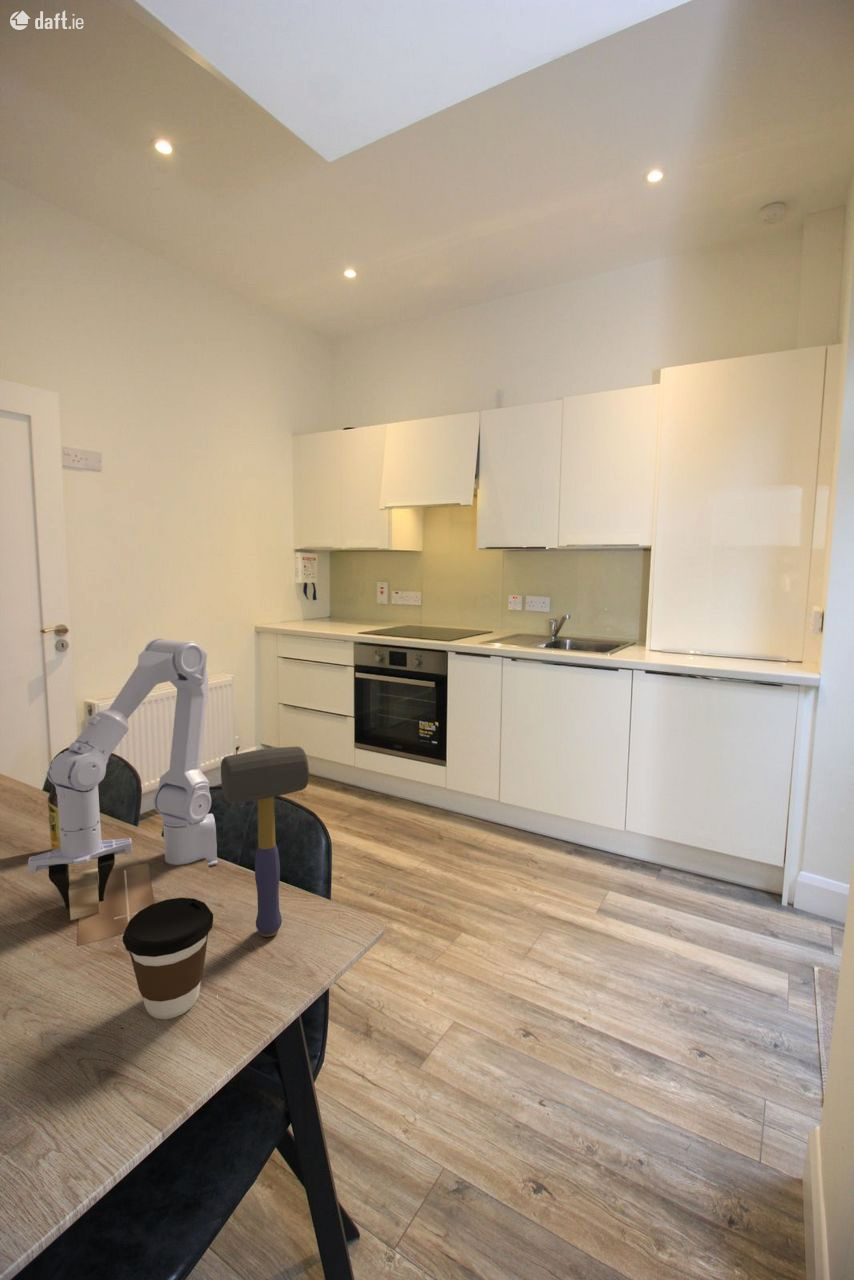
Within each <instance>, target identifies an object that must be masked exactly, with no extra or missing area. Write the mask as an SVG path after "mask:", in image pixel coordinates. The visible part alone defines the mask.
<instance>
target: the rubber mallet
mask: <svg viewBox="0 0 854 1280" xmlns="http://www.w3.org/2000/svg"><path fill="white" fill-rule="evenodd" d="M309 769H310V768H309V762H308V757H307V754H306V752H305V750H304V749H303V748H302V747H301V746H286V747H285V746H284V747H272V748H263V749H256V750H251V751H246V752H240V753H236V754H231V755H226V756H225V757H224V758H222V760H221V763H220V781H221V782H220V783H221V789H222V794H223V797H224V800H225V801H226V802H227V803H231V804H232V803H241V802H249V801H257V838H258V840H257V842H258V843H257V844H258V845H257V848H256V850H255V851H256V853H255V861H254V877H255V884H256V885H255V886H256V892H257V895H256V896H257V915H256V918H255V927H256V929H257V931H258V933H259V935H260V936H262V937H266V938H269V937H272V936H275V935H277V934H278V932H279V930H280V928H281V926H282V923H283V921H282V920H283V917H282V914H281V911H280V895H279V894H280V892H279V891H280V890H279V888H280V878H281V867H280V866H281V864H280V863H281V862H280V855H279V848H278V846H277V844H276V825H275V822H276V821H275V819H276V818H275V797H279V796H284V795H288V794H292V793H296V792H299V791H303V790H305V789H306V787H308V784H309V778H310V770H309Z"/></svg>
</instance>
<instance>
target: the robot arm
mask: <svg viewBox="0 0 854 1280" xmlns="http://www.w3.org/2000/svg"><path fill="white" fill-rule="evenodd" d="M207 659H208V653H207V652H206V651H205V650H204V649H203V647H202V646H201V645H199V644H198V643H197V642H195V641H184V640H183V641H180V640H169V639H164V638H155V639H152V640H151V641H149V642H148V643H147V644H146V645H145V647H144V650H142V651H141V652H140V653H139V654H138V658H137V660H138V661H137V666H136V667H135V668H134V670H133V672H132V673H131V675H130V676H129V678H128V679H127V681H126V683H125V684H124V686H123V687H121V689H120V691H119V693H118V694H117V696H116V697H115V699H114V700H113V702H112V703H111V705H110V706H109V708H107V709H105V710H100V711H98V712H96V713H95V714H94V715H91V716H90V717H89V718H88V719H87V721H86V722H87V725H86V726H85V728H84V729H83V730H82V732H80V734H79V735H78V736H77V738H76V739H75V741H74V742H72V743H71V744H70V745H69V746H68V750H65V751H63V753H62V752H61V753H59V754H58V755H57V756H55V758H54V760H53V759H52V760H53V762H52V761H51V764H50V768H49V770H47V771H46V777H47V778H48V780H49V782H50V783H51V784H52V785H53V784H54V785H55V787H56V794H57V800H58V815H59V828H60V841H61V848H60V849H57V850H54V851H53V850H51V851H48V852H44V853H42V854H37V855H33V856H29V858H28V861H27V865H28V866H27V867H28V874H34V873H37V872H38V871H42V870H46V869H48V875H47V876H48V878H49V880H50V881H51V883H52V884H53V885H54V886H55V888H56V889H57V891H58V892H59V894H60V895H61V897H62V900H63V902H64V905H65V909H66V910H70V904H69V883H70V873H69V865H70V864H73V865H74V866H77V865H83V864H87V863H89V861H91V860H95V859H97V868H98V877H99V902H101V901H104V892H105V887H106V884H107V880H108V878H109V875H110V873H111V871H113V869H114V866H115V863H116V860H115V859H116V858H115V856H116V855H120V854H124V855H129V854H133V844H132V838H131V837H129V838H118V839H105V840H103V839H102V830H101V815H100V800H99V799H100V797H99V794H100V793H99V784H100V782H101V781H103V780H104V778H105V776H106V773H107V772H106V771H107V764H108V762H109V758H110V756H111V755H112V754H113V752H114V751H115V749H116V748H117V746H118V745H119V744H120V742H121V740H123V739H124V737H125V735H126V734H127V733H128V731H129V723H128V719H130V717H131V716H132V714H133V713H134V712H135V711H136V709H138V707H140V705H141V704H142V703H143V701H144V700H145V699H146V698H147V696H148V695H149V694H150V693H151V692H152V691H153V689H155V687H156V686H157V685H159V684H163V683H167V682H170V683H171V684H172V685H173V686H174V687H175V688H176V699H175V708H174V709H175V710H174V718H173V728H172V740H171V741H172V742H171V749H170V750H171V751H170V758H169V759H170V760H169V761H170V762H169V769H168V770H167V771H166V772H165V773H164V774H162V775H161V776H160V778H159V780H158V781H159V782H158V787H157V789H156V791H155V793H154V796H153V802H152V803H153V808H154V809H155V812H157V813H159V814H160V820H162V824H163V825H162V826H163V842H164V843H163V845H164V846H163V847H164V849H163V850H164V861H165V862H166V863H168V864H169V865H179V866H181V865H187V864H190V863H193V862H197V861H200V860H203V859H205V860H206V864H207V865H208V867H209V866H215V865H217V864H218V863H219V861H218V854H217V853H218V851H217V849H218V848H217V847H218V846H217V828H216V820H215V816H214V814H213V813H209V812H210V810H211V807H212V797H211V796H212V795H211V793H210V781H209V780H208V778H207V777H206V776H205V774H204V773H203V772H202V770H201V763H202V751H203V750H202V749H203V740H204V730H205V727H204V726H205V720H206V719H205V718H206V709H207V708H206V707H207V701H208V700H207V697H208V688H209V687H208V686H209V677H208V672H207V662H208V661H207Z"/></svg>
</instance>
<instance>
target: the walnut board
mask: <svg viewBox="0 0 854 1280" xmlns="http://www.w3.org/2000/svg"><path fill="white" fill-rule="evenodd" d="M151 877H152V876H151V871H150V865H149V862H145V863H142V864H137V865H133V866H128V867H123V868H118V869H114V870H113V869H112V871H111V873H110V875H109V878H108V880H107V884H106V887H105V892H104V901H101V902H99V913H98V914H94V915H90V916H86V917H82V918H78V923H77V924H78V925H77V926H78V927H77V940H76V946H77V947H79V946H81V945H82V946H83V945H87V944H89V943H94V942H97V941H101V940H104V939H108V938H113V937H115V936H119V935H121V936H122V935H124V932H125V929H126V927H127V926H128V923H129V921H130V920H131V919H132V918H133V917H134V916H135V915H136V914H137V913H138V912H139V911H141V910H143V909H144V908H146V907H148V906H150V905H152V904H155V903H156V902H155V897H154V891H153V884H152V878H151ZM98 878H99V877H98Z"/></svg>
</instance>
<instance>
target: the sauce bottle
mask: <svg viewBox="0 0 854 1280" xmlns="http://www.w3.org/2000/svg"><path fill="white" fill-rule="evenodd" d="M54 759H55V758H54ZM54 759H51V763H52V762H53V760H54ZM47 810H48V824H49V835H50V836H49V837H50V847H51V851H54V850H57V849H60V848H61V841H60V828H59V815H58V800H57V794H56V787H55V785H54V784H53V783H52V785H51V788H50V792H49V795H48V797H47Z"/></svg>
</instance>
